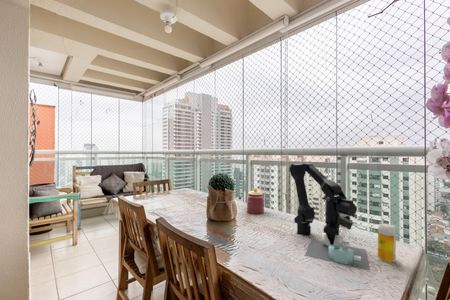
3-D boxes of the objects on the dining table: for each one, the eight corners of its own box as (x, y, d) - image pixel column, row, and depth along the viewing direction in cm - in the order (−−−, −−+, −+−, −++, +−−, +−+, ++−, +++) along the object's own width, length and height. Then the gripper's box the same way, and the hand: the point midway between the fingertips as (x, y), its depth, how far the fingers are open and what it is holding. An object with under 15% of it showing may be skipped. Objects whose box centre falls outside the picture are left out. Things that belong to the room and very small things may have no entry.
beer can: (378, 255, 98) (378, 221, 98) (395, 259, 94) (395, 224, 94) (377, 260, 93) (377, 225, 93) (395, 265, 89) (395, 228, 89)
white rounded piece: (321, 244, 106) (321, 234, 106) (322, 241, 110) (322, 231, 110) (349, 249, 100) (349, 238, 100) (349, 246, 104) (349, 235, 104)
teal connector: (328, 259, 93) (328, 248, 93) (328, 255, 97) (329, 244, 97) (361, 267, 87) (361, 254, 87) (360, 262, 91) (360, 250, 91)
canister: (243, 210, 168) (243, 187, 168) (257, 208, 174) (257, 186, 174) (252, 215, 156) (252, 190, 156) (267, 213, 162) (267, 189, 162)
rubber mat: (304, 256, 97) (304, 255, 97) (311, 240, 114) (311, 239, 114) (369, 271, 85) (369, 270, 85) (366, 250, 102) (366, 249, 102)
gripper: (352, 218, 93) (351, 255, 94) (351, 208, 110) (351, 239, 110) (323, 214, 99) (323, 249, 99) (326, 205, 115) (326, 234, 115)
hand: (332, 242), depth 106 cm, fingers closed on white rounded piece, 4 cm apart
